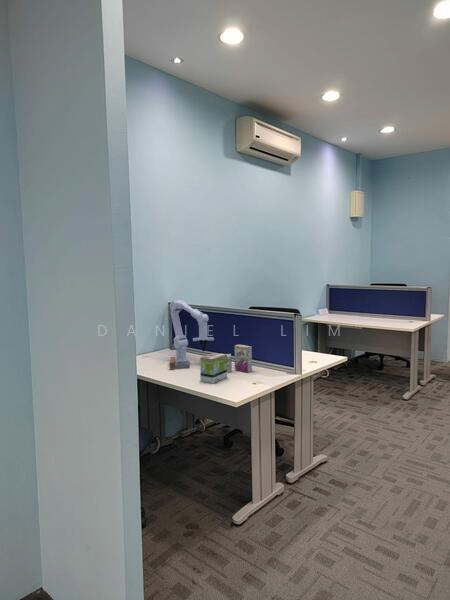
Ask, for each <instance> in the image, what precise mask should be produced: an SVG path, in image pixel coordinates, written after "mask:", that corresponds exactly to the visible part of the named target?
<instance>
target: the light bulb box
mask: <svg viewBox="0 0 450 600" xmlns="http://www.w3.org/2000/svg"><path fill="white" fill-rule="evenodd" d="M226 354H227V373H231V372H232V370H233V367H232V364H233V363H232V354H231V353H226Z"/></svg>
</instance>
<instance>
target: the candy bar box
mask: <svg viewBox="0 0 450 600" xmlns="http://www.w3.org/2000/svg"><path fill="white" fill-rule="evenodd" d="M252 351H253V349H252V346H249V345H244V344H235V345H234V370H235V371H238V372H244V373H248V374H249V373H251V372H253V352H252Z"/></svg>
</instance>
